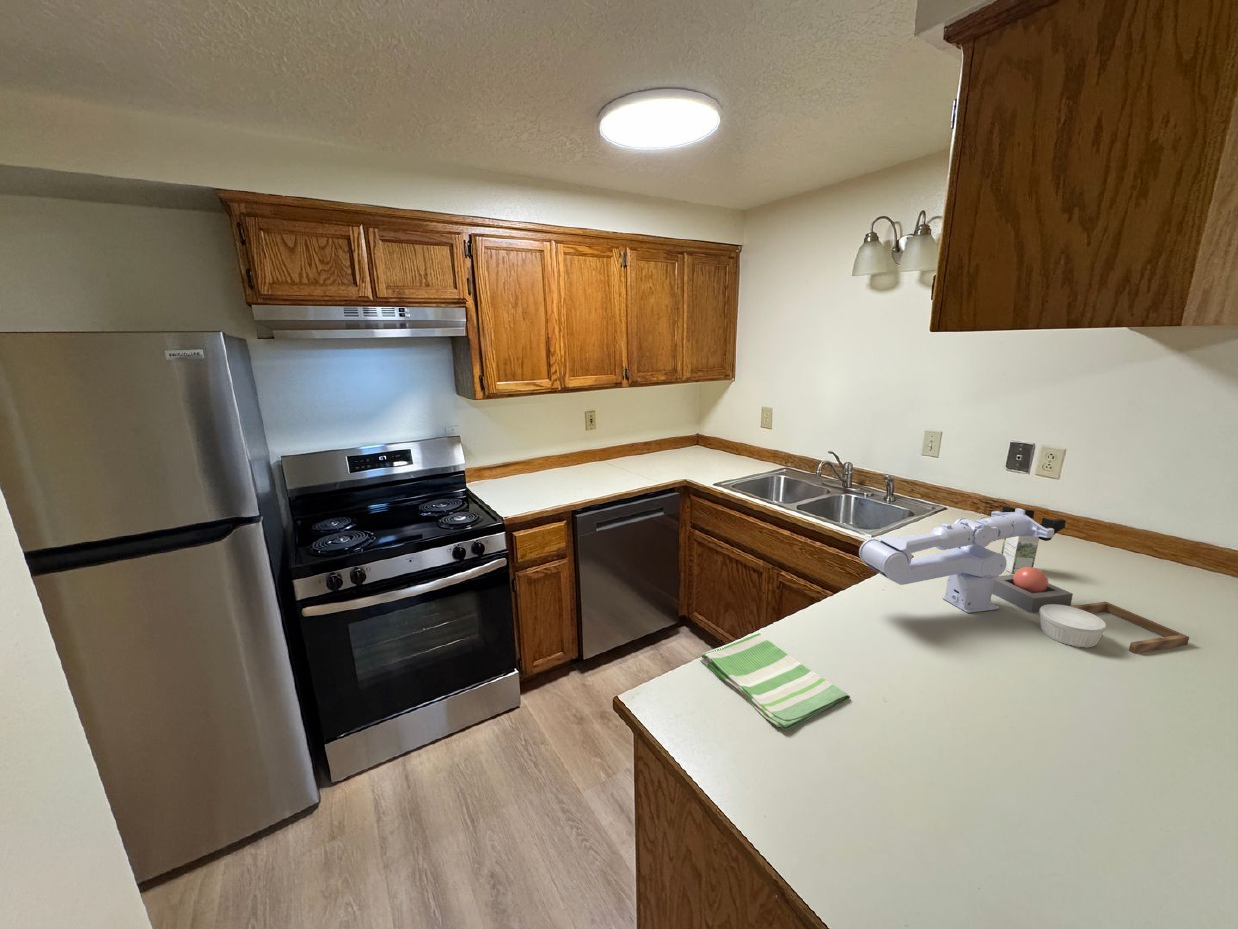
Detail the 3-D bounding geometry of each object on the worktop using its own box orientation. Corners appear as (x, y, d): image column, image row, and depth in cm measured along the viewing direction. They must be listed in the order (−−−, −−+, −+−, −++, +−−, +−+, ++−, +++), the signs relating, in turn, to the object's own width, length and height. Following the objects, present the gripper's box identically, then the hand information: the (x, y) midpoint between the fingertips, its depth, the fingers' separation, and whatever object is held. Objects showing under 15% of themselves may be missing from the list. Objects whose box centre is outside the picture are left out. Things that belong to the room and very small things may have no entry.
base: (1031, 613, 121) (1033, 598, 120) (986, 590, 132) (989, 577, 131) (1069, 608, 123) (1072, 593, 122) (1023, 586, 134) (1025, 573, 133)
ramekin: (1043, 643, 108) (1047, 621, 107) (1030, 619, 118) (1033, 599, 117) (1110, 657, 103) (1116, 634, 102) (1091, 631, 113) (1095, 610, 112)
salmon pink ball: (1030, 600, 123) (1035, 575, 122) (1004, 588, 130) (1008, 563, 128) (1052, 597, 124) (1058, 572, 123) (1025, 585, 131) (1030, 561, 130)
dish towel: (782, 737, 83) (783, 724, 82) (697, 663, 103) (697, 652, 102) (850, 701, 91) (851, 689, 91) (759, 639, 111) (759, 629, 111)
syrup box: (1018, 566, 147) (1027, 521, 144) (1032, 575, 141) (1041, 528, 138) (998, 565, 148) (1006, 520, 144) (1011, 574, 142) (1020, 527, 139)
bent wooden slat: (1134, 653, 104) (1136, 645, 104) (1055, 615, 120) (1057, 607, 119) (1187, 645, 107) (1189, 636, 107) (1103, 608, 122) (1105, 601, 122)
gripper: (1033, 521, 114) (1081, 512, 116) (978, 503, 128) (1021, 496, 130) (1030, 549, 116) (1077, 540, 118) (976, 528, 130) (1018, 520, 132)
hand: (1047, 518), depth 124 cm, fingers open, 7 cm apart
